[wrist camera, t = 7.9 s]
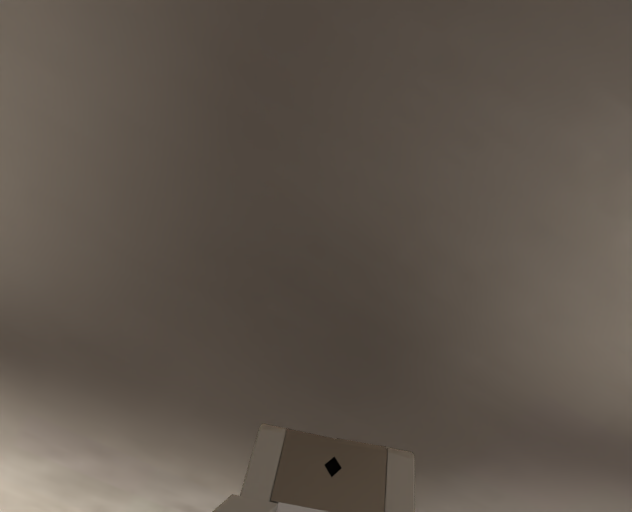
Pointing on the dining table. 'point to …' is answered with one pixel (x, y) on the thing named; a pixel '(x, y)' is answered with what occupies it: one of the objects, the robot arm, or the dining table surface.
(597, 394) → the dining table surface
